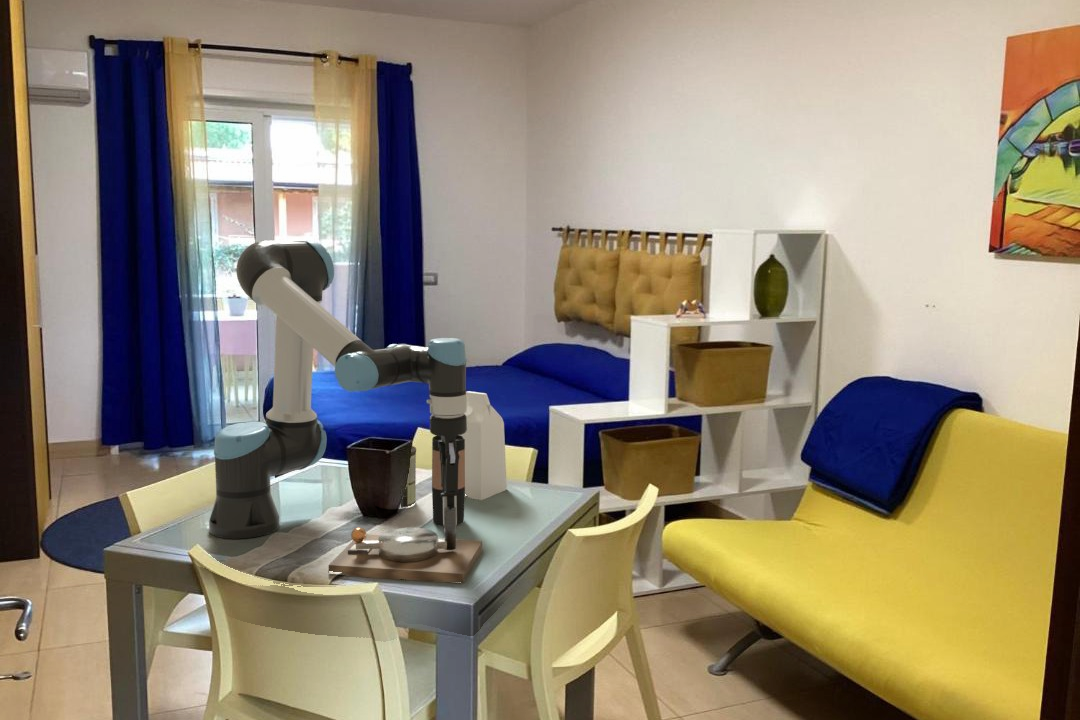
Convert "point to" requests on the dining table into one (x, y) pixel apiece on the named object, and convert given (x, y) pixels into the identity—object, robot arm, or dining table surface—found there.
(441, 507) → the travel mug
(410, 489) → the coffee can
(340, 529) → the dining table surface
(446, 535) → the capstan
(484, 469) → the milk
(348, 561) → the stand
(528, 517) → the dining table surface
